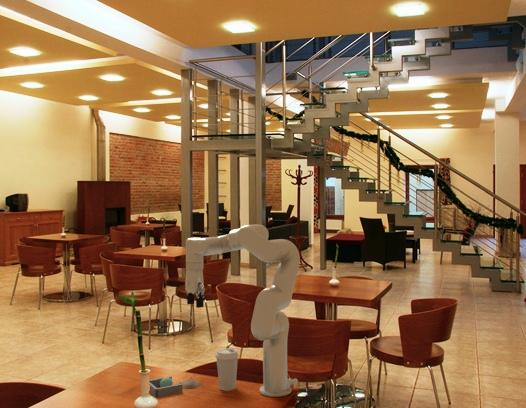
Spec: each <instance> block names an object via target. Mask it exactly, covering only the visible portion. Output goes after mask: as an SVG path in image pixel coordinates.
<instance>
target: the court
mask: <svg viewBox="0 0 526 408" xmlns="http://www.w3.org/2000/svg"><path fill="white" fill-rule="evenodd" d="M165 377H166V376H165ZM165 377H159V378H154V379H153V378H152V379H148V380H149V385H150V392H149V393H150V394H151V395H152V396H154V397H155V398H160V397H165V396H169V395H174V394H179V393H183V389H182V384H180V383H178V384H174V385H172V386H167V387H162V388H161V386H160V382H161V380H162V379H163V378H165ZM168 377H169V378H170V379H171V380H172V381H173V377H172V376H170V375H169V376H168Z"/></svg>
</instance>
